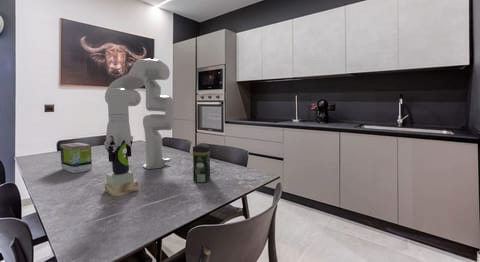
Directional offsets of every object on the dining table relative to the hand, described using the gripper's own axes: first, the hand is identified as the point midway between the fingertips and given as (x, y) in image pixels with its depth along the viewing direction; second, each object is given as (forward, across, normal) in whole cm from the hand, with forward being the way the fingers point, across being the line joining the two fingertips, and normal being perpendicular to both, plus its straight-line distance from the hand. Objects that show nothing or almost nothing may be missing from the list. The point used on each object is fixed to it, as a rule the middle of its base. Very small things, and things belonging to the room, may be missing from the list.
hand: (120, 158), depth 99 cm
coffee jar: (+14, -20, +29) cm, 38 cm away
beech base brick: (+14, 0, 0) cm, 14 cm away
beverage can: (+6, 0, 0) cm, 6 cm away
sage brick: (+10, 0, 0) cm, 10 cm away
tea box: (+15, -27, -47) cm, 56 cm away
